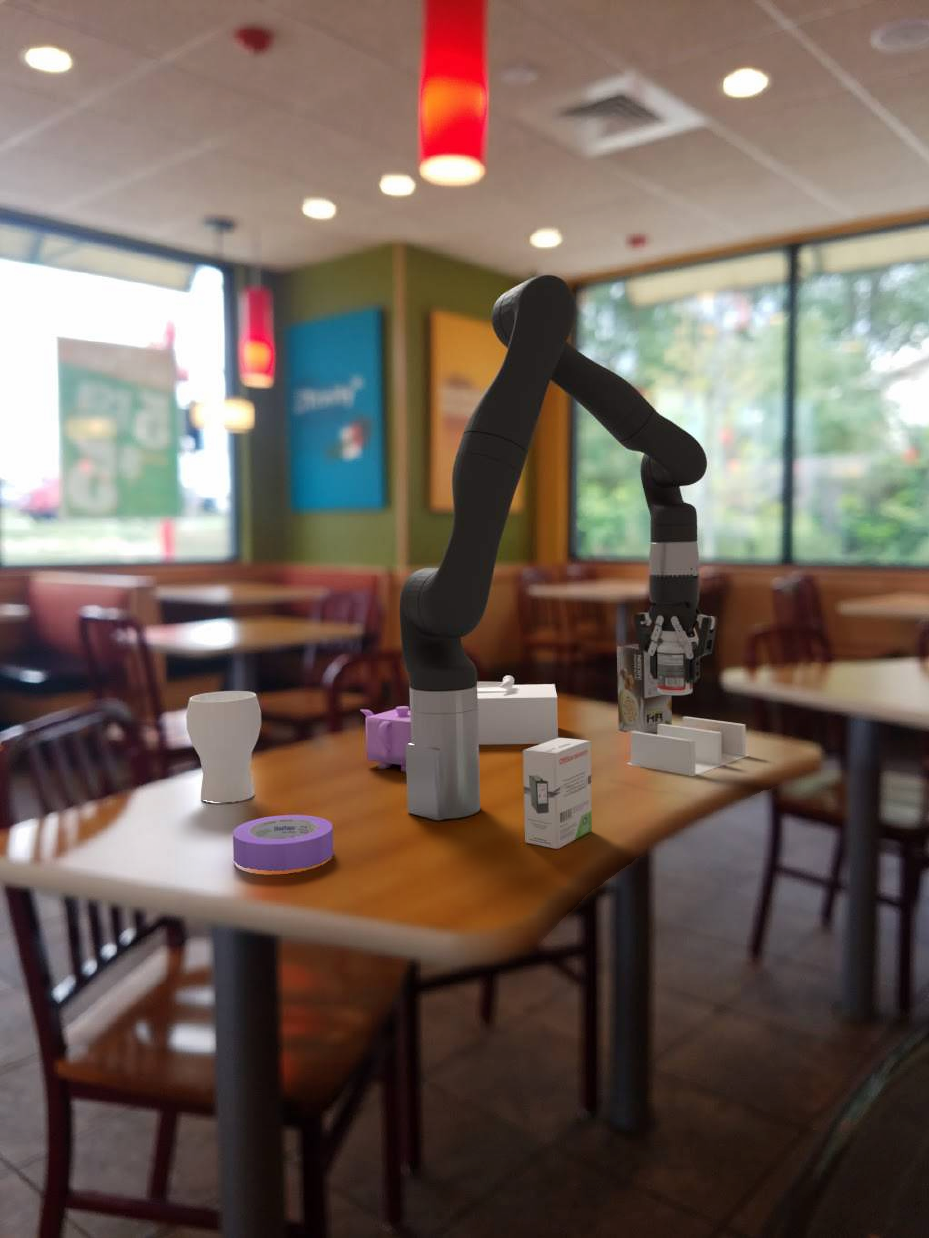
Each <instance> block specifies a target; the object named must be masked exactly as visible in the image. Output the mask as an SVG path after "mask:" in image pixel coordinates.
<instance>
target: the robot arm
mask: <svg viewBox="0 0 929 1238" xmlns="http://www.w3.org/2000/svg"><path fill="white" fill-rule="evenodd" d="M575 317H576V301H575V297H574V293H573V292H572V289H571V288H570V286H569V285H568V284H567V282H566V281H565V280H563V278H561V277H559V276H556V275H552V274H542V275H537V276H534V277H531V278H529V279H528V280H525V281H524V282H522V283H520V284H518V285H516V286H514V287H512V288H510V289H509V290H507V291H505V292H504V293H503V294H501V296H499V297H498V298H497V300H496V301H495V303H494V305H493V308H492V311H491V324H492V328H493V332H494V334H495V335H496V337H497V339H498V340H499V341H500V342H501V344H502V345H504V347H505V348H507V350H506V354H505V355H504V358H503V361H502V363H501V365H500V367H499V370H498V371H497V373H496V374H495V377H494V378H493V380H492V381H491V383H490V385H489V386H488V387H487V389H486V390H485V392H484V394H483V395H482V397H481V398H480V399H479V401H478V403H477V405H476V406H475V408H474V410H473V411H472V413H471V415H470V417H469V419H468V421H467V423H466V426H465V427H464V431H463V434H462V436H461V440H460V443H459V445H458V449H457V452H456V455H455V459H454V463H453V467H452V474H451V486H452V491H451V492H452V503H453V524H452V529H451V533H450V537H449V540H448V544H447V547H446V549H445V552H444V555H443V558H442V560H441V562H440V564H439V567H423V568H421V569H419V570H417V571H415V572H413V573H412V574H411V575H409V577H408V578H407V579H406V581H405V582H404V583H403V586H402V589H401V592H400V598H399V625H400V638H401V652H402V660H403V664H404V667H405V670H406V672H407V674H408V682H409V683H408V684H409V711H410V720H411V743H409V744H407V745H406V771H407V772H406V792H407V794H406V795H407V798H406V800H407V801H406V802H407V813H410V814H412V815H416V816H419V817H422V818H423V817H424V818H426V819H430V820H432V821H442V820H447V819H460V818H465V817H468V816H472V815H475V814H477V813H478V812H480V810H481V787H480V786H481V781H480V777H481V776H480V775H481V774H480V747H479V746H480V744H479V736H478V695H477V682H478V672H477V671H478V670H477V666H476V665H475V663H474V662H473V661H472V660H471V659H470V658H469V656H468V655H467V653H466V652H465V649H464V648H463V643H462V638H463V637H466V636H468V635H469V634H470V633H472V632H473V631H475V630H476V628H477V627H478V626H479V624H480V623H481V621H482V619H483V617H484V614H485V611H486V608H487V605H488V601H489V598H490V597H489V596H490V591H491V586H492V582H493V576H494V570H495V567H496V561H497V556H498V553H499V547H500V543H501V540H502V537H503V533H504V530H505V527H506V524H507V520H508V517H509V513H510V510H511V508H512V507H511V506H512V503H513V499H514V496H515V493H516V491H517V488H518V485H519V483H520V479H521V476H522V473H523V469H524V466H525V464H526V460H527V458H528V454H529V450H530V446H531V442H532V439H533V436H534V433H535V429H536V426H537V423H538V420H539V417H540V414H541V411H542V407H543V404H544V400H545V398H546V397H545V396H546V393H547V391H548V387H549V385H550V382H552V383H553V384H554V385H556V386H558V387H559V388H560V389H561V390H563V391H564V392H565V393H566V394H568V395H569V396H570V397H571V398H572V399H574V400H575V401H576V402H577V403H578V404H579V405H581V406H582V407H583V408H584V409H585V410H586V411H588V412H589V414H591V416H593V417H594V418H595V419H596V420H597V422H598V423H600V425H601V426H603V427H604V429H605V430H606V431H607V432H609V434H611V436H612V437H613V438H614V439H615V440H617V442H618V443H620V444H621V446H623V447H624V448H626V449H627V450H630V451H633V452H638V453H639V452H640V453H642V454H643V455H642V459H641V461H640V462H641V463H640V478H641V484H642V490H643V493H644V496H645V503H646V505H647V508H648V511H649V512H648V513H649V515H650V516H649V517H650V526H649V527H650V533H649V534H650V549H649V555H648V570H649V571H648V577H649V579H648V583H649V584H648V585H649V586H648V588H649V593H648V594H649V597H648V598H649V601H650V603H651V604H650V609H649V611H647V612H645V611H644V612H638V613H634V614H633V616H632V617H633V619H632V620H633V622H634V623H633V624H634V629H635V634H636V640H637V644H638V647H639V649H640V650H641V651H645V652H647V653H648V654H649V655H650V673H651V675H652V677H653V679H655V680H657V648H658V646H659V645H661V644H663V640H662V638H661V633H662V631H675V632H676V633H677V636H678V639H679V642H680V644H681V645H682V646H683V647H684V650H685V653H686V656H687V658H688V659H685V661H686V683H693V684H694V683H697V681H698V680H699V679H700V677H701V672H700V671H701V667H700V666H701V661H700V660H701V658H702V657H704V656H707V655H711V654H712V653H713V650H714V649H713V647H714V643H715V638H716V631H717V626H718V621H719V619H718V617H717V616H716V615H710V616H709V615H706V614H701V611H700V609H699V605H698V604H699V601H700V555H699V554H700V552H699V547H698V513H697V508H696V507H695V506H694V505H693V504H691V503H688V502H685V501H684V499H683V496H682V492H681V488H680V487H687V486H691V485H694V484H697V482H699V481H701V480H702V478H703V477H704V476H705V474H706V471H707V467H708V460H707V456H706V455H707V454H706V452H705V450H704V448H703V446H702V445H701V443H700V442H699V441H698V440H697V439H696V438H695V437H694V436H693V435H692V434H690V433H689V432H688V431H686V430H685V429H683V428H682V427H680V426H679V425H677V424H676V423H674V422H673V421H671V420H670V419H668V418H666V417H665V416H663V415H661V414H660V413H659V412H658V411H657V410H656V409H655V408H654V407H653V406H652V404H651V403H649V401H648V400H647V399H646V398H645V397H644V396H643V395H642V394H641V393H640V391H638V390H637V388H636V387H634V386H633V385H632V384H631V383H630V382H628V381H627V380H626V379H624V378H623V377H622V376H620V375H619V374H617V373H616V372H614V371H612V370H611V369H608V368H606V367H605V366H603V365H601V364H599V363H597V362H596V361H594V360H592V359H590V358H589V357H587V355H586V356H585V354H583V352H580V351H579V350H577V349H576V348H575V347H574V346H572V344H571V343H569V342H568V339H569V338H570V335H571V332H572V330H573V326H574V323H575ZM651 624H653V626H654V629H653V631H652V629H651ZM697 624H698V628H699V629H700V632H699V635H698V633H697V630H696V628H695V627H696V626H697ZM687 636H688V637H687Z"/></svg>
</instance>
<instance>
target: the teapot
mask: <svg viewBox="0 0 929 1238" xmlns="http://www.w3.org/2000/svg"><path fill="white" fill-rule="evenodd" d="M360 712H361V713H363V714H364V715H365V737H366V738H365V742H366V761H369V762H376V763H377V762H378V763H379V765H378V766H377V768H378V769H389V768H391V765H397V766H398V765H399V766H401V767H400V771H401V772H402V773H407V771H406V745H407V744H409V743H411V720H410V706H406V705H403V706H402V705H401V706H400V705H399V706H396V707H395V709H392V710H388V711H384V712H381V713H377V714H374V712H372V711H371V710H370V709H360Z"/></svg>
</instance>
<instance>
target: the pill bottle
mask: <svg viewBox="0 0 929 1238" xmlns="http://www.w3.org/2000/svg"><path fill="white" fill-rule="evenodd" d="M687 637H688V638H689V636H687ZM661 638H662V640H663V644H661V645H659V646H658V648H657V683H658V692H659V693H661V694H665V695H671V696H685V695H689V694H692V693H693V689H694V688H693V687H694V683H686V661H685V659H688V658H687V656H686V653H685V650H684V647H683V646H682V645H681V644H680V642H679V639H678V636H677V633H676V632H675V631H662V633H661Z"/></svg>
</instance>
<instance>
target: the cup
mask: <svg viewBox="0 0 929 1238" xmlns="http://www.w3.org/2000/svg"><path fill="white" fill-rule="evenodd" d="M259 703H260V702H259V700H258V696H257V694H256V693H255V692H253V691H246V690H245V691H244V690H243V691H242V690H224V691H222V690H221V691H212V692H204V693H200V694H195V695H193V696H191V697H189V700H188V703H187V709H186V715H185V718H186V719H185V720H186V721H185V723H186V731H187V734H188V738H189V740H190V742H191V745H192V747H193V748H194V749H195V752H196V754H197V755H198V757H199V759H200V760H199V761H200V764H201V770H202V781H201V789H200V800H201V799H202V800H207V801H213V802H232V803H237V802H236V801H238V802H242V801H246V800H249V799H251V798H253V797H254V796H255V786H254V783H253V778H252V773H251V762H252V753H253V751H254V749H255V746H256V744H257V742H258V740H259V735H260V732H261V727H262V710H261V707H260V704H259ZM202 800H201V801H202Z"/></svg>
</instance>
